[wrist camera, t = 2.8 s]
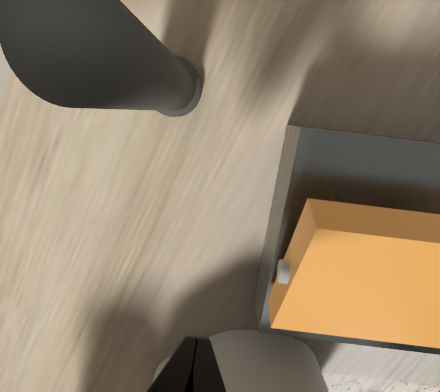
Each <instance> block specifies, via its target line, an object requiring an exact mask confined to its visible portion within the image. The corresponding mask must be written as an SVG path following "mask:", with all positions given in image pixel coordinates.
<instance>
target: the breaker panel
mask: <svg viewBox="0 0 440 392" xmlns="http://www.w3.org/2000/svg"><path fill="white" fill-rule="evenodd" d="M307 198H309V199H318V200H326V201H334V202H342V203H350V204H359V205H367V206H375V207H383V208H391V209H400V210H408V211H416V212H424V213H432V214H440V143H433V142H425V141H417V140H409V139H401V138H392V137H384V136H376V135H368V134H360V133H351V132H343V131H335V130H327V129H319V128H310V127H302V126H294V125H287V128H286V133H285V138H284V144H283V149H282V154H281V159H280V165H279V170H278V175H277V180H276V186H275V191H274V196H273V201H272V207H271V212H270V217H269V222H268V228H267V233H266V238H265V243H264V249H263V254H262V259H261V264H260V270H259V275H258V280H257V285H256V291H255V296H254V302H255V309H256V317H257V325H258V332H259V333H267V334H275V335H283V336H291V337H300V338H308V339H316V340H324V341H332V342H341V343H349V344H357V345H365V346H373V347H382V348H390V349H398V350H406V351H414V352H423V353H431V354H439V355H440V348H432V347H424V346H416V345H407V344H399V343H391V342H383V341H375V340H366V339H358V338H350V337H342V336H334V335H325V334H317V333H309V332H301V331H293V330H284V329H276V328H271V325H270V312H269V300H268V298H269V295H270V293H271V290H272V287H273V285H274V282H275V280H276V277H277V266H278V262H279V260H280V259H282V260H284V257H285V254H286V252H287V249H288V247H289V244H290V242H291V239H292V237H293V234H294V232H295V229H296V226H297V224H298V221H299V219H300V216H301V214H302V211H303V209H304V206H305V204H306V201H307Z"/></svg>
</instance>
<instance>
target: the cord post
mask: <svg viewBox="0 0 440 392" xmlns="http://www.w3.org/2000/svg"><path fill="white" fill-rule="evenodd" d="M0 44H1V47H2V50H3V53H4V55H5V58H6V60H7V62H8V63H9V65H10V67H11V69H12V70H13V72H14V73H15V75H16V76H17V77H18V78H19V80H20V81H21V82H22V83H23V84H24V85H25V86H26V87H27V88H28V89H29V90H30V91H32V92H33V93H34V94H35V95H37V96H38V97H40V98H42V99H43V100H45V101H47V102H50V103H52V104H55V105H58V106H62V107H69V108H97V109H130V110H157V111H158V112H160V113H161V114H164V115H166V116H172V117H176V116H183V115H186V114H188V113H189V112H191V111H192V110H193V109H194V108H195V107H196V106H197V104H198V102H199V100H200V97H201V92H202V86H201V80H200V77H199V75H198V73H197V71H196V70H195V68H194V67H193V66H192V65H191V64H190V63H189V62H188V61H187V60H185V59H183V58H181V57H178V56H174V55H173V54H172V53H171V52H170V51H169V50H168V49H167V48H166V47H165V46H164V45H163V44H162V43H161V42H160V41H159V40H158V39H157V38H156V37H155V36H154V35H153V34H152V33H151V32H150V31H149V30H148V29H147V28H146V27H145V26H144V25H143V24H142V22H141V21H140V20H139V19H138V18H137V17H136V16H135V15H134V14H133V13H132V12H131V11H130V10H129V9H128V8H127V7H126V6H125V5H124V4H123V3H122V2H121V1H120V0H0Z"/></svg>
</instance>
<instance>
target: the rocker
mask: <svg viewBox="0 0 440 392" xmlns="http://www.w3.org/2000/svg"><path fill="white" fill-rule="evenodd" d="M268 300H269V312H270V325H271V328H276V329H284V330H293V331H301V332H309V333H317V334H325V335H334V336H342V337H350V338H358V339H366V340H375V341H383V342H391V343H399V344H407V345H416V346H424V347H432V348H440V214H432V213H424V212H416V211H408V210H400V209H391V208H383V207H375V206H367V205H359V204H350V203H342V202H334V201H326V200H318V199H309V198H307V201H306V204H305V206H304V209H303V211H302V214H301V216H300V219H299V221H298V224H297V226H296V229H295V232H294V234H293V237H292V239H291V242H290V244H289V247H288V249H287V252H286V254H285V257H284V260H282V259H280V260H279V262H278V266H277V277H276V280H275V282H274V285H273V287H272V290H271V293H270V295H269V298H268Z"/></svg>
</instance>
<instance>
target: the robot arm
mask: <svg viewBox="0 0 440 392" xmlns="http://www.w3.org/2000/svg"><path fill="white" fill-rule="evenodd" d="M147 392H227V391H226V388H225V385H224V382H223V379H222V375H221V372H220V369H219V366H218V363H217V360H216V357H215V353H214V350H213V347H212V344H211V341H210V339H209V338H206V337H198V338H197V337H196V336H190V335H187V336H186V337H185V338H184V339H183V341H182V342H181V343H180V345H179V346H178V348H177V349H176V350H175V352H174V353H173V355H172V356H171V358H170V359H169V360H168V362H167V363H166V365H165V366H164V367H163V369H162V370H161V372H160V373H159V375H158V376H157V377H156V379H155V380H154V382H153V383H152V384H151V386H150V387H149V389H148V390H147Z"/></svg>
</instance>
